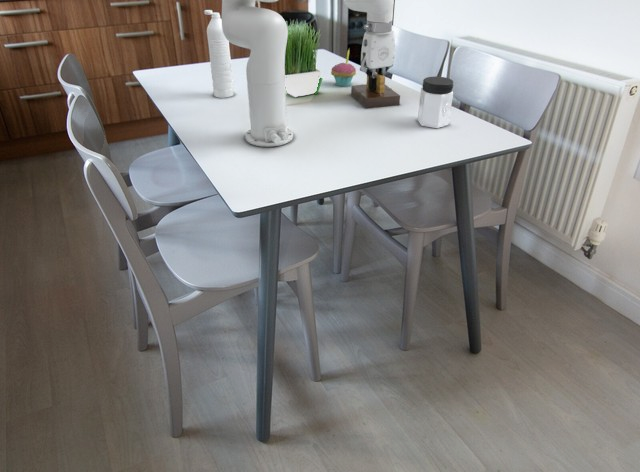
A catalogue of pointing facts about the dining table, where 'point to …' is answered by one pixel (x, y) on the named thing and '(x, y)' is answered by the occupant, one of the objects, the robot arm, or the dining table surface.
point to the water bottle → (219, 57)
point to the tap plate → (375, 96)
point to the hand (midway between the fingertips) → (375, 88)
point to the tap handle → (378, 83)
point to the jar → (435, 102)
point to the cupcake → (343, 72)
